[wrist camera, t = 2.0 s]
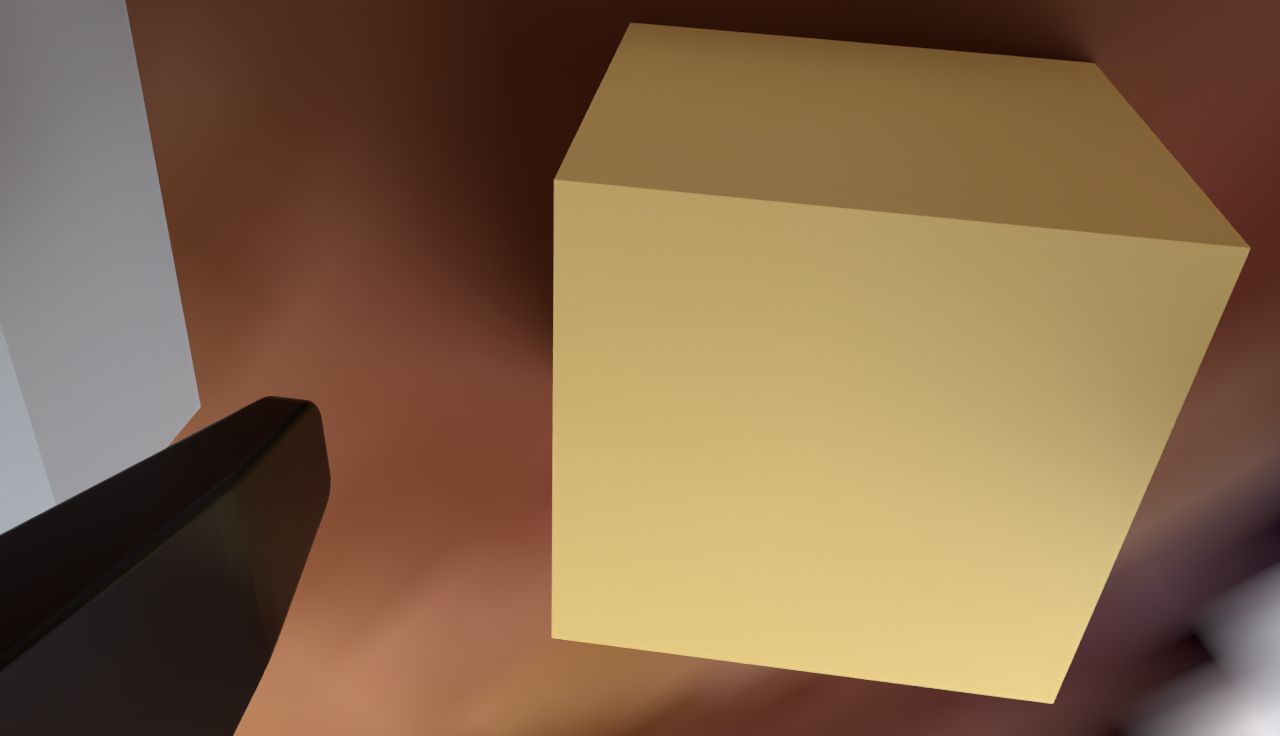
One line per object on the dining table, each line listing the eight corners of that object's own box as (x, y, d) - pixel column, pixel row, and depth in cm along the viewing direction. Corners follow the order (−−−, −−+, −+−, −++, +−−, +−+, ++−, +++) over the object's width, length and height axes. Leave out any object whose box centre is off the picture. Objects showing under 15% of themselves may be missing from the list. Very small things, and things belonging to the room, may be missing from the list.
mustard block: (1091, 60, 11) (1251, 247, 7) (980, 429, 14) (1053, 703, 10) (631, 19, 11) (553, 179, 8) (614, 388, 14) (551, 638, 10)
